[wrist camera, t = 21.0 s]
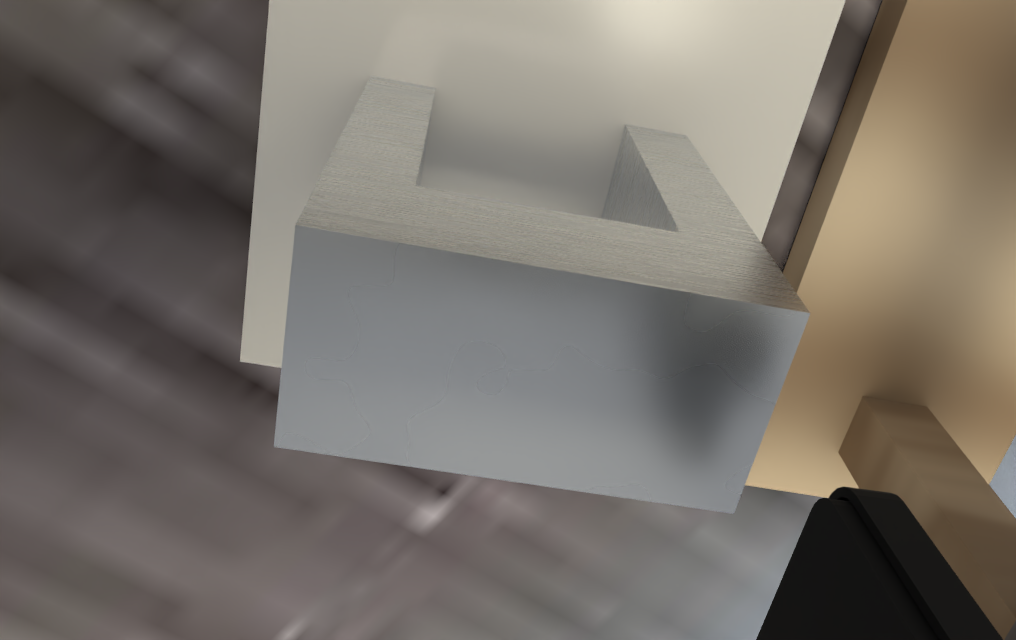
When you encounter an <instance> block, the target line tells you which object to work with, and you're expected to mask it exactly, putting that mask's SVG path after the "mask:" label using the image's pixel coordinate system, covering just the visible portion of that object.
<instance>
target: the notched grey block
mask: <svg viewBox="0 0 1016 640" xmlns="http://www.w3.org/2000/svg"><path fill="white" fill-rule="evenodd" d="M435 90H436V88H433V87H428V86H423V85H417V84H412V83H407V82H402V81H396V80H391V79H386V78H380V77H375V76H370V78H369V80H368V82H367V84H366V86H365V88H364V90H363V92H362V94H361V96H360V98H359V100H358V102H357V104H356V106H355V108H354V110H353V112H352V114H351V116H350V118H349V120H348V122H347V124H346V126H345V128H344V130H343V132H342V134H341V135H340V137H339V139H338V141H337V143H336V145H335V147H334V149H333V151H332V153H331V155H330V157H329V159H328V161H327V163H326V165H325V167H324V169H323V171H322V173H321V175H320V177H319V179H318V181H317V183H316V185H315V187H314V189H313V191H312V193H311V195H310V197H309V199H308V201H307V203H306V205H305V207H304V209H303V211H302V213H301V215H300V217H299V219H298V221H297V223H296V225H295V234H294V244H293V254H292V265H291V275H290V285H289V295H288V306H287V316H286V326H285V336H284V347H283V357H282V367H281V377H280V388H279V398H278V408H277V418H276V428H275V439H274V447H278V448H285V449H292V450H299V451H305V452H312V453H319V454H326V455H333V456H340V457H347V458H354V459H360V460H367V461H374V462H381V463H388V464H395V465H402V466H408V467H415V468H422V469H429V470H436V471H443V472H450V473H457V474H463V475H470V476H477V477H484V478H491V479H498V480H505V481H512V482H518V483H525V484H532V485H539V486H546V487H553V488H560V489H567V490H573V491H580V492H587V493H594V494H601V495H608V496H615V497H622V498H628V499H635V500H642V501H649V502H656V503H663V504H670V505H677V506H683V507H690V508H697V509H704V510H711V511H718V512H725V513H732V514H734V512H735V509H736V507H737V504H738V501H739V499H740V496H741V493H742V491H743V488H744V486H745V483H746V480H747V478H748V475H749V473H750V470H751V467H752V465H753V462H754V460H755V457H756V454H757V452H758V449H759V446H760V444H761V441H762V439H763V436H764V433H765V431H766V428H767V426H768V423H769V420H770V418H771V415H772V413H773V410H774V407H775V405H776V402H777V400H778V397H779V394H780V392H781V389H782V386H783V384H784V381H785V379H786V376H787V373H788V371H789V368H790V366H791V363H792V360H793V358H794V355H795V353H796V350H797V347H798V345H799V342H800V339H801V337H802V334H803V332H804V329H805V326H806V324H807V321H808V319H809V316H810V312H809V310H808V309H807V307H806V306H805V305H804V303H803V302H802V300H801V299H800V297H799V296H798V295H797V293H796V292H795V290H794V289H793V287H792V286H791V285H790V283H789V282H788V280H787V279H786V277H785V276H784V274H783V273H782V272H781V270H780V269H779V267H778V266H777V264H776V263H775V262H774V260H773V259H772V257H771V256H770V254H769V253H768V252H767V250H766V249H765V247H764V246H763V244H762V243H761V242H760V240H759V239H758V237H757V236H756V234H755V233H754V232H753V230H752V229H751V227H750V226H749V224H748V223H747V221H746V220H745V219H744V217H743V216H742V214H741V213H740V211H739V210H738V209H737V207H736V206H735V204H734V203H733V201H732V200H731V199H730V197H729V196H728V194H727V193H726V191H725V190H724V189H723V187H722V186H721V184H720V183H719V181H718V180H717V178H716V177H715V176H714V174H713V173H712V171H711V170H710V168H709V167H708V166H707V164H706V163H705V161H704V160H703V158H702V157H701V156H700V154H699V153H698V151H697V150H696V148H695V147H694V146H693V144H692V143H691V141H690V140H689V138H688V137H687V136H686V135H681V134H675V133H670V132H665V131H660V130H654V129H649V128H644V127H639V126H633V125H628V124H625V127H624V131H623V135H622V139H621V143H620V147H619V150H618V154H617V158H616V162H615V166H614V170H613V174H612V178H611V182H610V186H609V190H608V193H607V197H606V201H605V205H604V209H603V213H602V217H601V218H596V217H591V216H585V215H579V214H574V213H568V212H563V211H557V210H551V209H546V208H540V207H535V206H529V205H523V204H518V203H512V202H507V201H501V200H495V199H490V198H484V197H478V196H473V195H467V194H462V193H456V192H450V191H445V190H439V189H434V188H428V187H422V186H420V184H421V177H422V171H423V165H424V159H425V152H426V146H427V140H428V133H429V127H430V121H431V115H432V108H433V102H434V96H435Z"/></svg>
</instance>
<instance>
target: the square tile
mask: <svg viewBox="0 0 1016 640" xmlns="http://www.w3.org/2000/svg"><path fill="white" fill-rule="evenodd" d="M844 3H845V0H269V12H268V24H267V37H266V49H265V61H264V73H263V86H262V98H261V110H260V122H259V135H258V147H257V159H256V171H255V184H254V196H253V208H252V220H251V233H250V245H249V257H248V269H247V281H246V294H245V306H244V318H243V330H242V343H241V355H240V362H247V363H253V364H259V365H265V366H272V367H278V368H281V367H282V357H283V347H284V336H285V326H286V316H287V306H288V295H289V285H290V275H291V265H292V254H293V244H294V234H295V225H296V223H297V221H298V219H299V217H300V215H301V213H302V211H303V209H304V207H305V205H306V203H307V201H308V199H309V197H310V195H311V193H312V191H313V189H314V187H315V185H316V183H317V181H318V179H319V177H320V175H321V173H322V171H323V169H324V167H325V165H326V163H327V161H328V159H329V157H330V155H331V153H332V151H333V149H334V147H335V145H336V143H337V141H338V139H339V137H340V135H341V134H342V132H343V130H344V128H345V126H346V124H347V122H348V120H349V118H350V116H351V114H352V112H353V110H354V108H355V106H356V104H357V102H358V100H359V98H360V96H361V94H362V92H363V90H364V88H365V86H366V84H367V82H368V80H369V78H370V76H375V77H380V78H386V79H391V80H396V81H402V82H407V83H412V84H417V85H423V86H428V87H433V88H436V90H435V96H434V102H433V108H432V115H431V121H430V127H429V133H428V140H427V146H426V152H425V159H424V165H423V171H422V177H421V184H420V186H422V187H428V188H434V189H439V190H445V191H450V192H456V193H462V194H467V195H473V196H478V197H484V198H490V199H495V200H501V201H507V202H512V203H518V204H523V205H529V206H535V207H540V208H546V209H551V210H557V211H563V212H568V213H574V214H579V215H585V216H591V217H596V218H601V217H602V213H603V209H604V205H605V201H606V197H607V193H608V190H609V186H610V182H611V178H612V174H613V170H614V166H615V162H616V158H617V154H618V150H619V147H620V143H621V139H622V135H623V131H624V127H625V124H628V125H633V126H639V127H644V128H649V129H654V130H660V131H665V132H670V133H675V134H681V135H686V136H687V137H688V138H689V140H690V141H691V143H692V144H693V146H694V147H695V148H696V150H697V151H698V153H699V154H700V156H701V157H702V158H703V160H704V161H705V163H706V164H707V166H708V167H709V168H710V170H711V171H712V173H713V174H714V176H715V177H716V178H717V180H718V181H719V183H720V184H721V186H722V187H723V189H724V190H725V191H726V193H727V194H728V196H729V197H730V199H731V200H732V201H733V203H734V204H735V206H736V207H737V209H738V210H739V211H740V213H741V214H742V216H743V217H744V219H745V220H746V221H747V223H748V224H749V226H750V227H751V229H752V230H753V232H754V233H755V234H756V236H757V237H758V239H759V240H760V242H761V241H762V238H763V235H764V232H765V229H766V226H767V223H768V221H769V218H770V215H771V212H772V209H773V206H774V203H775V201H776V198H777V195H778V192H779V189H780V186H781V183H782V181H783V178H784V175H785V172H786V169H787V166H788V163H789V161H790V158H791V155H792V152H793V149H794V146H795V143H796V141H797V138H798V135H799V132H800V129H801V126H802V123H803V121H804V118H805V115H806V112H807V109H808V106H809V103H810V101H811V98H812V95H813V92H814V89H815V86H816V83H817V80H818V78H819V75H820V72H821V69H822V66H823V63H824V60H825V58H826V55H827V52H828V49H829V46H830V43H831V40H832V38H833V35H834V32H835V29H836V26H837V23H838V20H839V18H840V15H841V12H842V9H843V6H844Z"/></svg>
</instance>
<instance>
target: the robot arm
mask: <svg viewBox="0 0 1016 640" xmlns="http://www.w3.org/2000/svg"><path fill="white" fill-rule="evenodd" d="M756 640H1003V639H1002V637H1001V636H1000V634H999V633H998V632H997V630H996V629H995V628H994V626H993V625H992V623H991V622H990V621H989V619H988V618H987V616H986V615H985V614H984V612H983V611H982V609H981V608H980V607H979V605H978V604H977V603H976V601H975V600H974V598H973V597H972V596H971V594H970V593H969V591H968V590H967V589H966V587H965V586H964V585H963V583H962V582H961V580H960V579H959V578H958V576H957V575H956V573H955V572H954V571H953V569H952V568H951V566H950V565H949V564H948V562H947V561H946V560H945V558H944V557H943V555H942V554H941V553H940V551H939V550H938V548H937V547H936V546H935V544H934V543H933V541H932V540H931V539H930V537H929V536H928V535H927V533H926V532H925V530H924V529H923V528H922V526H921V525H920V523H919V522H918V521H917V519H916V518H915V516H914V515H913V514H912V512H911V511H910V510H909V508H908V507H907V505H906V504H905V503H904V501H903V500H902V499H901V498H900V497H899V496H898V495H896V494H893V493H890V492H882V491H874V490H867V489H859V488H851V487H844V486H843V487H840V488H837V489H836V490H835V491H833V492H832V493H831V495H830V496H829V498H822V499H819V500H818V501H817V502H816V503H815V504H814V506H813V508H812V509H811V512H810V514H809V516H808V519H807V521H806V524H805V526H804V528H803V531H802V533H801V535H800V538H799V540H798V542H797V545H796V547H795V550H794V552H793V554H792V557H791V559H790V561H789V564H788V566H787V568H786V571H785V573H784V575H783V578H782V580H781V583H780V585H779V587H778V590H777V592H776V594H775V597H774V599H773V601H772V604H771V606H770V609H769V611H768V613H767V616H766V618H765V620H764V623H763V625H762V627H761V630H760V632H759V634H758V637H757V639H756Z"/></svg>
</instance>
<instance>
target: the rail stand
mask: <svg viewBox="0 0 1016 640" xmlns="http://www.w3.org/2000/svg"><path fill="white" fill-rule="evenodd" d="M783 274H784V276H785V277H786V279H787V280H788V282H789V283H790V285H791V286H792V287H793V289H794V290H795V292H796V293H797V295H798V296H799V297H800V299H801V300H802V302H803V303H804V305H805V306H806V307H807V309H808V310H809V312H810V316H809V319H808V321H807V324H806V326H805V329H804V332H803V334H802V337H801V339H800V342H799V345H798V347H797V350H796V353H795V355H794V358H793V360H792V363H791V366H790V368H789V371H788V373H787V376H786V379H785V381H784V384H783V386H782V389H781V392H780V394H779V397H778V400H777V402H776V405H775V407H774V410H773V413H772V415H771V418H770V420H769V423H768V426H767V428H766V431H765V433H764V436H763V439H762V441H761V444H760V446H759V449H758V452H757V454H756V457H755V460H754V462H753V465H752V467H751V470H750V473H749V475H748V478H747V480H746V483H745V485H748V486H755V487H761V488H768V489H774V490H780V491H787V492H793V493H800V494H806V495H813V496H819V497H826V498H829V496H830V495H831V493H832V492H833V491H835V490H836V489H837V488H840V487H843V486H844V487H851V488H859V489H867V490H874V491H882V492H890V493H893V494H896V495H898V496H899V497H900V498H901V499H902V500H903V501H904V503H905V504H906V505H907V507H908V508H909V510H910V511H911V512H912V514H913V515H914V516H915V518H916V519H917V521H918V522H919V523H920V525H921V526H922V528H923V529H924V530H925V532H926V533H927V535H928V536H929V537H930V539H931V540H932V541H933V543H934V544H935V546H936V547H937V548H938V550H939V551H940V553H941V554H942V555H943V557H944V558H945V560H946V561H947V562H948V564H949V565H950V566H951V568H952V569H953V571H954V572H955V573H956V575H957V576H958V578H959V579H960V580H961V582H962V583H963V585H964V586H965V587H966V589H967V590H968V591H969V593H970V594H971V596H972V597H973V598H974V600H975V601H976V603H977V604H978V605H979V607H980V608H981V609H982V611H983V612H984V614H985V615H986V616H987V618H988V619H989V621H990V622H991V623H992V625H993V626H994V628H995V629H996V630H997V632H998V633H999V634H1000V636H1001V637H1002V639H1003V640H1016V519H1015V517H1014V516H1013V515H1012V513H1011V512H1010V511H1009V510H1008V508H1007V507H1006V506H1005V505H1004V503H1003V502H1002V501H1001V500H1000V498H999V497H998V496H997V494H996V493H995V492H994V491H993V489H992V488H991V487H990V486H989V483H990V482H991V480H992V478H993V476H994V474H995V472H996V470H997V469H998V467H999V465H1000V463H1001V461H1002V459H1003V457H1004V456H1005V454H1006V452H1007V450H1008V448H1009V446H1010V444H1011V442H1012V441H1013V439H1014V437H1015V435H1016V0H883V1H882V4H881V6H880V9H879V12H878V15H877V17H876V20H875V23H874V25H873V28H872V31H871V34H870V36H869V39H868V42H867V45H866V47H865V50H864V53H863V55H862V58H861V61H860V64H859V66H858V69H857V72H856V75H855V77H854V80H853V83H852V85H851V88H850V91H849V94H848V96H847V99H846V102H845V104H844V107H843V110H842V113H841V115H840V118H839V121H838V124H837V126H836V129H835V132H834V134H833V137H832V140H831V143H830V145H829V148H828V151H827V154H826V156H825V159H824V162H823V164H822V167H821V170H820V173H819V175H818V178H817V181H816V184H815V186H814V189H813V192H812V194H811V197H810V200H809V203H808V205H807V208H806V211H805V213H804V216H803V219H802V222H801V224H800V227H799V230H798V233H797V235H796V238H795V241H794V243H793V246H792V249H791V252H790V254H789V257H788V260H787V263H786V265H785V268H784V271H783Z"/></svg>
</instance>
